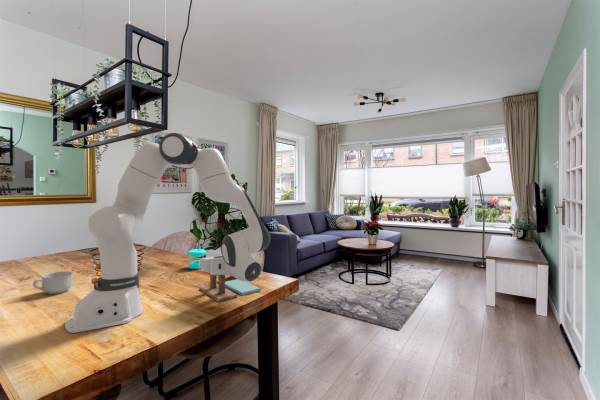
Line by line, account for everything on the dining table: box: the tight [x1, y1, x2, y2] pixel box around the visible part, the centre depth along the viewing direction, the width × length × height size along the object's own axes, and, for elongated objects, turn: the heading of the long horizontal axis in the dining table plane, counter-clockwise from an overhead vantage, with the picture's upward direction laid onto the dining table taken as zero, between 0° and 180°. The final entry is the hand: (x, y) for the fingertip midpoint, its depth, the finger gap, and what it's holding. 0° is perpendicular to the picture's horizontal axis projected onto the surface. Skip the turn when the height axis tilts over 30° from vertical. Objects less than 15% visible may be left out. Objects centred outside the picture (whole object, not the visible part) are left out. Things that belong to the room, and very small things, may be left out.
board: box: [225, 278, 261, 296], centre depth 134 cm, size 9×19×1 cm, turn 40°
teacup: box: [32, 270, 74, 295], centre depth 128 cm, size 14×11×8 cm
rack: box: [199, 273, 238, 303], centre depth 127 cm, size 8×20×10 cm, turn 40°
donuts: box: [187, 248, 206, 270], centre depth 171 cm, size 10×10×10 cm
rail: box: [205, 249, 222, 258], centre depth 126 cm, size 3×16×4 cm, turn 40°
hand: (217, 257), depth 126 cm, fingers closed on rail, 3 cm apart
